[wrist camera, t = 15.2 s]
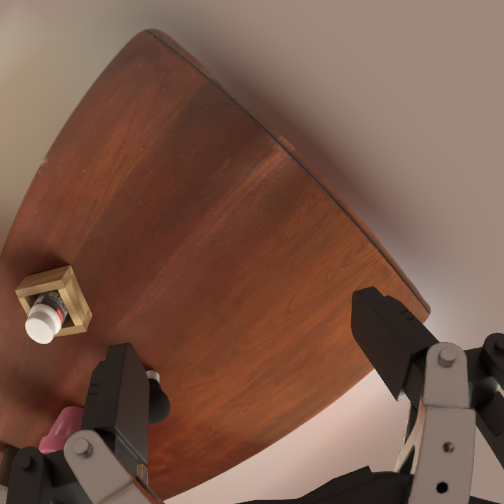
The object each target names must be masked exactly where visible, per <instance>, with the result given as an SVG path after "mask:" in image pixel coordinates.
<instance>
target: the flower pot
mask: <svg viewBox="0 0 504 504" xmlns="http://www.w3.org/2000/svg"><path fill="white" fill-rule="evenodd" d="M83 412H84V408H82V407H77V406H68V407H66V408H64V409H63V410H62V412H61V413H60V415H59V417H58V418H57V420H56V422H55V423H54V425H53V427H52V429H51V431H50V432H49V434H48V436H45V437H43V438H42V440H41V442H40V446H39V450H40V451H41V452H42V453H43V454H48V453H51V452H54V451H58V450H61V449H64V446H65V443H66V442H67V440H68V439H69V437H70V436H71V435H73V434H74V433H76V432H78V431H80V428H81V423H82V417H83Z"/></svg>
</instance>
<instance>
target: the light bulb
mask: <svg viewBox="0 0 504 504" xmlns="http://www.w3.org/2000/svg"><path fill="white" fill-rule="evenodd" d="M146 373H147V376H148V380H149V411H148V424H156V423H159V422H161V421H163V420H164V419H165V418H166V417H167V416H168V414H169V411H170V402H169V399H168V397H167V395H166V394H165V393H164V392H163V391H162V389H161V385H160V383H159V374H158V373H157V372H155V371H152V370H149V371H147V372H146Z"/></svg>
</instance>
